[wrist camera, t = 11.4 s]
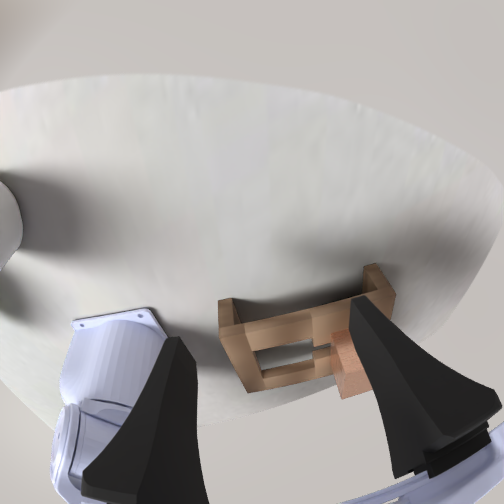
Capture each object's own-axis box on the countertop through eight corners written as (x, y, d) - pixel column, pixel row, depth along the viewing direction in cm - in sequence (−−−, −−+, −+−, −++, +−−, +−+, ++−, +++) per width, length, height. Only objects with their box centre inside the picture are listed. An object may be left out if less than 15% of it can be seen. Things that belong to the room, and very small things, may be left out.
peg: (316, 338, 27) (335, 401, 21) (315, 306, 24) (339, 376, 18) (354, 328, 27) (378, 387, 21) (357, 295, 24) (388, 360, 18)
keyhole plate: (244, 361, 29) (247, 393, 26) (217, 300, 24) (219, 338, 20) (366, 331, 29) (379, 359, 26) (375, 263, 23) (396, 294, 20)
